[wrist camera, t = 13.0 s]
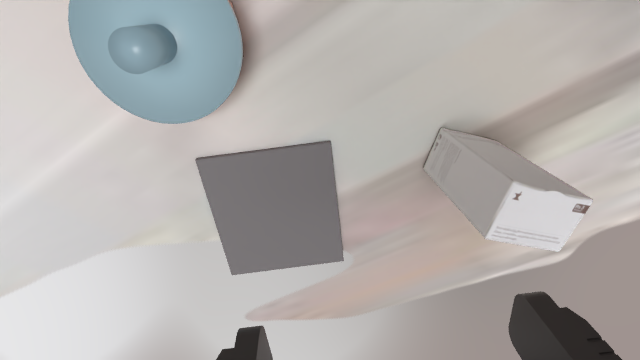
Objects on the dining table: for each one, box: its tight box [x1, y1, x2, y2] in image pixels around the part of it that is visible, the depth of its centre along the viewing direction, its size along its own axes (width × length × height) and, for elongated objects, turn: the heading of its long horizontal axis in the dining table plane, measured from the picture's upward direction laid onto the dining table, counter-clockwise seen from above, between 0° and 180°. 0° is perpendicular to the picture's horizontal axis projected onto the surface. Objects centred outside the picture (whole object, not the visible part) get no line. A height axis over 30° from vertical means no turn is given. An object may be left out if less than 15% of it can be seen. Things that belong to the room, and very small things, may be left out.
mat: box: [195, 141, 344, 275], centre depth 44 cm, size 16×18×1 cm
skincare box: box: [423, 128, 593, 252], centre depth 35 cm, size 8×6×15 cm
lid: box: [68, 0, 243, 124], centre depth 27 cm, size 14×14×6 cm
